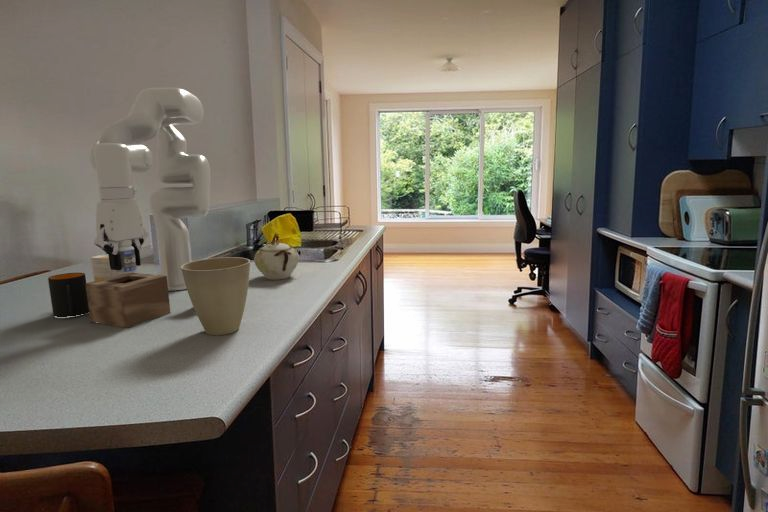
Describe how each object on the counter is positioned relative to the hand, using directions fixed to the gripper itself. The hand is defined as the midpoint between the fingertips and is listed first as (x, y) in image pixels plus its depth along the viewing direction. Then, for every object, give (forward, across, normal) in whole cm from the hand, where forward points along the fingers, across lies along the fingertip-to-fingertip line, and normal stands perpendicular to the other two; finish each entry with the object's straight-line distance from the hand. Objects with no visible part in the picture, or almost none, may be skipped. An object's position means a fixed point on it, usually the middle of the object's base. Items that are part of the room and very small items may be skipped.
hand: (125, 266), depth 125 cm
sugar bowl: (+14, -52, +8) cm, 54 cm away
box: (+13, 0, 0) cm, 13 cm away
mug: (+13, +4, -17) cm, 22 cm away
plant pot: (+13, 0, +30) cm, 33 cm away
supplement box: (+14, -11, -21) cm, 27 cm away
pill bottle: (+2, 0, 0) cm, 2 cm away
